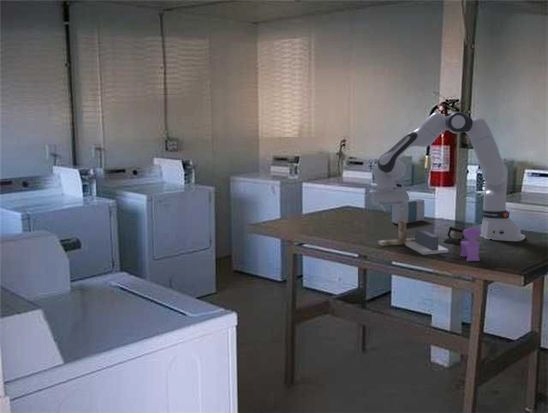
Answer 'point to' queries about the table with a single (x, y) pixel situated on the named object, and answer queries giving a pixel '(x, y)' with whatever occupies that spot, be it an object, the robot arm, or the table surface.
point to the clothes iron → (454, 240)
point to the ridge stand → (426, 243)
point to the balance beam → (401, 236)
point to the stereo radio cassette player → (409, 211)
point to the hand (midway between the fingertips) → (393, 210)
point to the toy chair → (471, 244)
